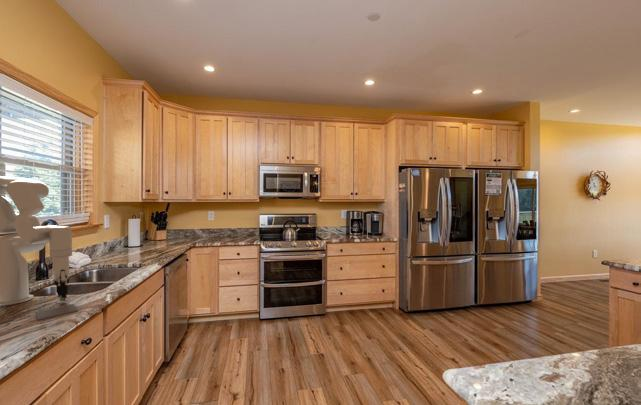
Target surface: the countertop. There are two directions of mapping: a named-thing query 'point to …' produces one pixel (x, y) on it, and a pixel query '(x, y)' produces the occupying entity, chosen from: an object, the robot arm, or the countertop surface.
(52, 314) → the charcoal mat
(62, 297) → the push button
